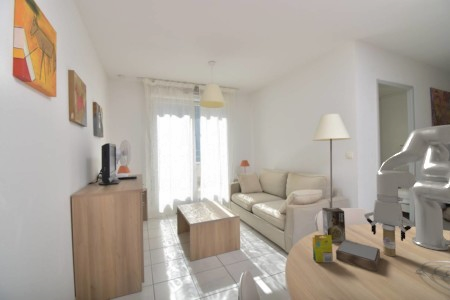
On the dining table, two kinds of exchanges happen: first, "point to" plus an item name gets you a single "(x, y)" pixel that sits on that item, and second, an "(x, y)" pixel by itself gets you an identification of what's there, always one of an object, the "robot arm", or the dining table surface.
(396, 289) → the dining table surface
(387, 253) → the spice jar
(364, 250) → the walnut plinth
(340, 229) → the coffee box
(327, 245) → the crayon box
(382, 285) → the dining table surface
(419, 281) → the dining table surface
